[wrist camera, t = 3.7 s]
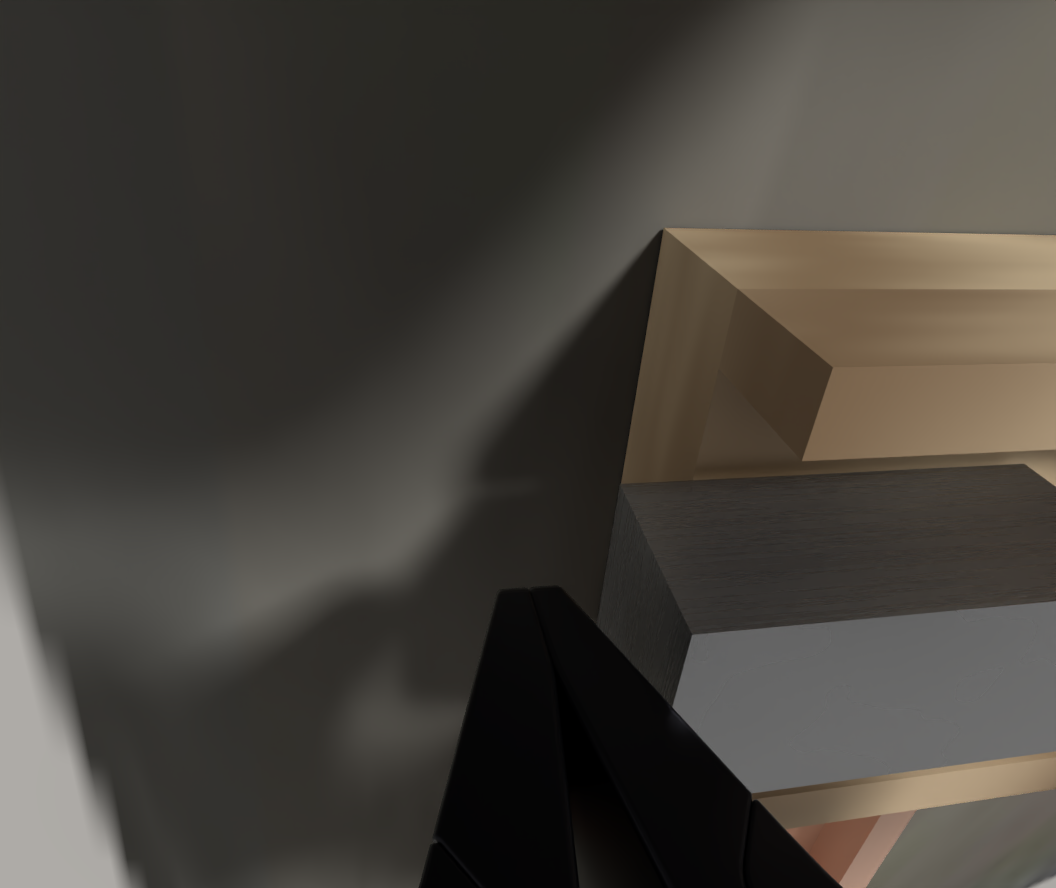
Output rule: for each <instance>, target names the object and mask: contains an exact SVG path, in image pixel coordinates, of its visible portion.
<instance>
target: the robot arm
mask: <svg viewBox="0 0 1056 888" xmlns="http://www.w3.org/2000/svg"><path fill="white" fill-rule="evenodd" d="M419 888H843V887H842V886H841V885H840V884H839V883H838V882H837V881H836V880H835V879H833V878H832V877H831V876H830V875H829V874H828V873H827V872H826V871H825V870H824V869H823V868H822V867H821V866H820V865H819V864H818V863H817V862H816V860H815V859H814V858H813V857H812V856H811V855H810V854H809V853H808V852H807V851H806V850H805V849H804V848H803V847H802V846H801V845H800V844H799V843H798V842H797V841H796V840H795V839H794V838H793V837H792V836H791V835H790V834H789V833H788V832H787V830H786V829H785V828H784V827H783V826H782V825H781V824H780V823H779V822H778V821H777V820H776V819H775V818H774V817H773V815H772V814H771V813H770V812H769V811H768V810H767V809H766V808H765V807H764V806H763V805H762V803H761V802H760V801H759V800H757V799H755V800H753V801H752V793H751V792H750V791H749V790H748V789H747V788H746V786H745V785H744V784H743V783H742V782H741V781H740V780H739V779H738V778H737V777H736V776H735V775H734V773H733V772H732V771H731V770H730V769H729V768H728V767H727V766H726V765H725V764H724V763H723V762H722V760H721V759H720V758H719V757H718V756H717V755H716V754H715V753H714V752H713V751H712V750H711V749H710V747H709V746H708V745H707V744H706V743H705V742H704V741H703V740H702V739H701V738H700V737H699V736H698V734H697V733H696V732H695V731H694V730H693V729H692V728H691V727H690V726H689V725H688V724H687V723H686V721H685V720H684V719H683V718H682V717H681V716H680V715H679V714H678V713H677V712H676V711H675V710H674V708H673V707H672V706H671V705H670V704H669V703H668V702H667V701H666V700H665V699H664V698H663V697H662V695H661V694H660V693H659V692H658V691H657V690H656V689H655V688H654V687H653V686H652V685H651V684H650V682H649V681H648V680H647V679H646V678H645V677H644V676H643V675H642V674H641V673H640V672H639V671H638V669H637V668H636V667H635V666H634V665H633V664H632V663H631V662H630V661H629V660H628V659H627V658H626V656H625V655H624V654H623V653H622V652H621V651H620V650H619V649H618V648H617V647H616V646H615V645H614V643H613V642H612V641H611V640H610V639H609V638H608V637H607V636H606V635H605V634H604V633H603V632H602V630H601V629H600V628H599V627H598V626H597V625H596V624H595V623H594V622H593V621H592V620H591V619H590V617H589V616H588V615H587V614H586V613H585V612H584V611H583V610H582V609H581V608H580V607H579V606H578V604H577V603H576V602H575V601H574V600H573V599H572V598H571V597H570V596H569V595H568V594H567V593H566V591H565V590H564V589H563V588H561V587H559V586H556V585H554V586H540V587H532V588H530V589H527V588H513V589H501V590H499V591H498V592H497V594H496V598H495V602H494V605H493V609H492V613H491V617H490V621H489V624H488V628H487V632H486V636H485V640H484V643H483V647H482V651H481V655H480V659H479V662H478V666H477V670H476V674H475V678H474V681H473V685H472V689H471V693H470V697H469V700H468V704H467V708H466V712H465V716H464V719H463V723H462V727H461V731H460V735H459V739H458V742H457V746H456V750H455V754H454V758H453V761H452V765H451V769H450V773H449V777H448V780H447V784H446V788H445V792H444V796H443V799H442V803H441V807H440V811H439V815H438V818H437V822H436V826H435V830H434V834H433V843H432V844H431V845H430V847H429V851H428V855H427V859H426V862H425V866H424V870H423V874H422V878H421V882H420V885H419Z"/></svg>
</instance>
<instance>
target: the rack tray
mask: <svg viewBox="0 0 1056 888" xmlns="http://www.w3.org/2000/svg"><path fill="white" fill-rule="evenodd" d="M915 812H916V810H911V811H904V812H898V813H891V814H884V815H877V816H871V817H864V818H857V819H851V820H844V821H837V822H831V823H824V824H817V825H810V826H804V827H797V828H790V829H786V830H787V832H788V833H789V834H790V835H791V836H792V837H793V838H794V839H795V840H796V841H797V842H798V843H799V844H800V845H801V846H802V847H803V848H804V849H805V850H806V851H807V852H808V853H809V854H810V855H811V856H812V857H813V858H814V859H815V860H816V862H817V863H818V864H819V865H820V866H821V867H822V868H823V869H824V870H825V871H826V872H827V873H828V874H829V875H830V876H831V877H832V878H833V879H835V880H836V881H837V882H838V883H839V884H840V885H841V886H842V887H843V888H866V886H867V885H868V883H869V882H870V880H871V879H872V877H873V875H874V874H875V872H876V871H877V869H878V868H879V866H880V865H881V863H882V862H883V860H884V859H885V857H886V856H887V854H888V853H889V851H890V850H891V848H892V847H893V845H894V844H895V842H896V840H897V839H898V837H899V836H900V834H901V833H902V831H903V830H904V828H905V827H906V825H907V824H908V822H909V821H910V819H911V818H912V816H913V815H914V813H915Z"/></svg>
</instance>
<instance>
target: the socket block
mask: <svg viewBox="0 0 1056 888" xmlns="http://www.w3.org/2000/svg"><path fill="white" fill-rule="evenodd" d="M1008 464H1025V465H1027V466H1028V467H1029V468H1031V469H1032V470H1034V471H1035V472H1036V473H1038V474H1039V475H1040V476H1042V477H1043V478H1045V479H1046V480H1047V481H1049V482H1050V483H1051V484H1053V485H1054V486H1056V235H1013V234H959V233H906V232H853V231H800V230H747V229H693V228H664V230H663V236H662V242H661V248H660V254H659V260H658V266H657V272H656V278H655V284H654V290H653V296H652V302H651V308H650V314H649V320H648V326H647V332H646V338H645V344H644V350H643V356H642V362H641V368H640V374H639V380H638V386H637V392H636V398H635V404H634V410H633V416H632V422H631V428H630V433H629V439H628V445H627V451H626V457H625V463H624V469H623V475H622V481H621V484H629V483H648V482H668V481H688V480H708V479H728V478H748V477H768V476H788V475H808V474H828V473H848V472H868V471H888V470H908V469H928V468H948V467H968V466H988V465H1008ZM1052 789H1056V751H1055V752H1048V753H1041V754H1033V755H1026V756H1019V757H1012V758H1004V759H997V760H990V761H983V762H975V763H968V764H961V765H954V766H946V767H939V768H932V769H925V770H917V771H910V772H903V773H896V774H888V775H881V776H874V777H867V778H859V779H852V780H845V781H838V782H830V783H823V784H816V785H809V786H801V787H794V788H787V789H780V790H772V791H765V792H758V793H752V801H753V800H755V799H757V800H759V801H760V802H761V803H762V805H763V806H764V807H765V808H766V809H767V810H768V811H769V812H770V813H771V814H772V815H773V817H774V818H775V819H776V820H777V821H778V822H779V823H780V824H781V825H782V826H783V827H784V828H785V829H790V828H797V827H804V826H810V825H817V824H824V823H831V822H837V821H844V820H851V819H857V818H864V817H871V816H877V815H884V814H891V813H898V812H904V811H911V810H918V809H924V808H931V807H938V806H944V805H951V804H958V803H965V802H971V801H978V800H985V799H991V798H998V797H1005V796H1011V795H1018V794H1025V793H1032V792H1038V791H1045V790H1052Z"/></svg>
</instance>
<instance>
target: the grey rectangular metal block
mask: <svg viewBox="0 0 1056 888" xmlns="http://www.w3.org/2000/svg"><path fill="white" fill-rule="evenodd" d="M597 626H598V627H599V628H600V629H601V630H602V632H603V633H604V634H605V635H606V636H607V637H608V638H609V639H610V640H611V641H612V642H613V643H614V645H615V646H616V647H617V648H618V649H619V650H620V651H621V652H622V653H623V654H624V655H625V656H626V658H627V659H628V660H629V661H630V662H631V663H632V664H633V665H634V666H635V667H636V668H637V669H638V671H639V672H640V673H641V674H642V675H643V676H644V677H645V678H646V679H647V680H648V681H649V682H650V684H651V685H652V686H653V687H654V688H655V689H656V690H657V691H658V692H659V693H660V694H661V695H662V697H663V698H664V699H665V700H666V701H667V702H668V703H669V704H670V705H671V706H672V707H673V708H674V710H675V711H676V712H677V713H678V714H679V715H680V716H681V717H682V718H683V719H684V720H685V721H686V723H687V724H688V725H689V726H690V727H691V728H692V729H693V730H694V731H695V732H696V733H697V734H698V736H699V737H700V738H701V739H702V740H703V741H704V742H705V743H706V744H707V745H708V746H709V747H710V749H711V750H712V751H713V752H714V753H715V754H716V755H717V756H718V757H719V758H720V759H721V760H722V762H723V763H724V764H725V765H726V766H727V767H728V768H729V769H730V770H731V771H732V772H733V773H734V775H735V776H736V777H737V778H738V779H739V780H740V781H741V782H742V783H743V784H744V785H745V786H746V788H747V789H748V790H749V791H750V792H751V793H758V792H765V791H772V790H780V789H787V788H794V787H801V786H809V785H816V784H823V783H830V782H838V781H845V780H852V779H859V778H867V777H874V776H881V775H888V774H896V773H903V772H910V771H917V770H925V769H932V768H939V767H946V766H954V765H961V764H968V763H975V762H983V761H990V760H997V759H1004V758H1012V757H1019V756H1026V755H1033V754H1041V753H1048V752H1055V751H1056V486H1054V485H1053V484H1051V483H1050V482H1049V481H1047V480H1046V479H1045V478H1043V477H1042V476H1040V475H1039V474H1038V473H1036V472H1035V471H1034V470H1032V469H1031V468H1029V467H1028V466H1027V465H1025V464H1008V465H988V466H968V467H948V468H928V469H908V470H888V471H868V472H848V473H828V474H808V475H788V476H768V477H748V478H728V479H708V480H688V481H668V482H648V483H629V484H620V487H619V493H618V499H617V505H616V511H615V517H614V523H613V529H612V535H611V541H610V547H609V553H608V559H607V565H606V571H605V577H604V583H603V589H602V595H601V601H600V607H599V613H598V619H597Z"/></svg>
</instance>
